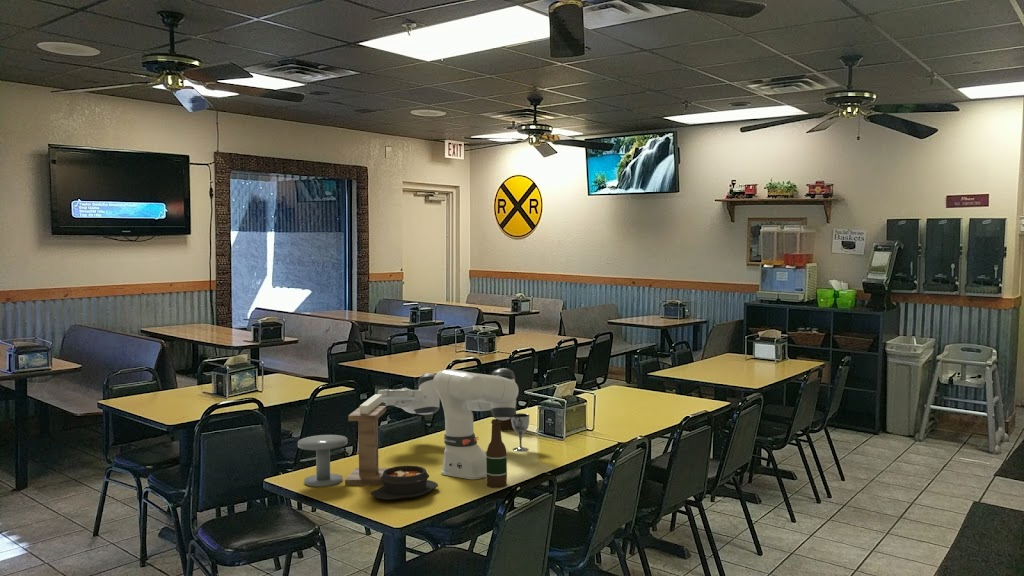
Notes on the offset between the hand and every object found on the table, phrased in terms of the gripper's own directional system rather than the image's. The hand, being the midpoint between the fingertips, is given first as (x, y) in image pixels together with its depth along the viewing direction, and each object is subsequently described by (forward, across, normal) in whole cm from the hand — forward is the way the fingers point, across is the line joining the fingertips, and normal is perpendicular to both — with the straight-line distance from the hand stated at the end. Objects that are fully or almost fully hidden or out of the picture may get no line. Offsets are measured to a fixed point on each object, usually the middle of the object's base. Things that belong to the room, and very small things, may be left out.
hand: (396, 391), depth 316 cm
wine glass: (-22, -52, -21) cm, 60 cm away
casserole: (+40, -19, -46) cm, 64 cm away
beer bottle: (+26, -50, -41) cm, 70 cm away
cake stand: (+29, +16, -41) cm, 53 cm away
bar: (+29, 0, -13) cm, 32 cm away
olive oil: (-57, -39, -6) cm, 70 cm away
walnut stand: (+24, 0, -39) cm, 46 cm away
